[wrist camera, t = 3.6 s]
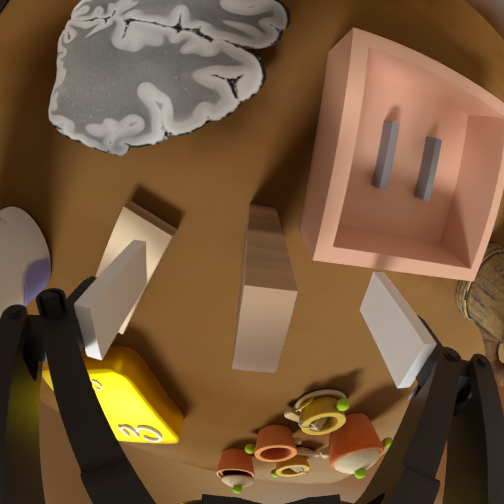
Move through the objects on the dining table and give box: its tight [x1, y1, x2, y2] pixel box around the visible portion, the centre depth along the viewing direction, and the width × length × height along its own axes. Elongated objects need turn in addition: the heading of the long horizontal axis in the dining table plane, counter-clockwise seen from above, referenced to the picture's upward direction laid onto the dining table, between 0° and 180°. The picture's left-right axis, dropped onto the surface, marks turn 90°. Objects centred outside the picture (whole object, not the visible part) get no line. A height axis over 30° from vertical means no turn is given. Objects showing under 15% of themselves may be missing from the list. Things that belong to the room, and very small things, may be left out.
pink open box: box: [299, 27, 504, 282], centre depth 17 cm, size 14×14×6 cm
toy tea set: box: [216, 389, 393, 493], centre depth 31 cm, size 26×16×10 cm, turn 142°
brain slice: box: [48, 0, 291, 156], centre depth 15 cm, size 20×17×3 cm
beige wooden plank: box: [96, 201, 177, 335], centre depth 23 cm, size 12×4×2 cm, turn 147°
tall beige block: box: [232, 204, 298, 373], centre depth 17 cm, size 4×2×12 cm, turn 172°
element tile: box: [42, 346, 184, 444], centre depth 29 cm, size 15×15×5 cm
